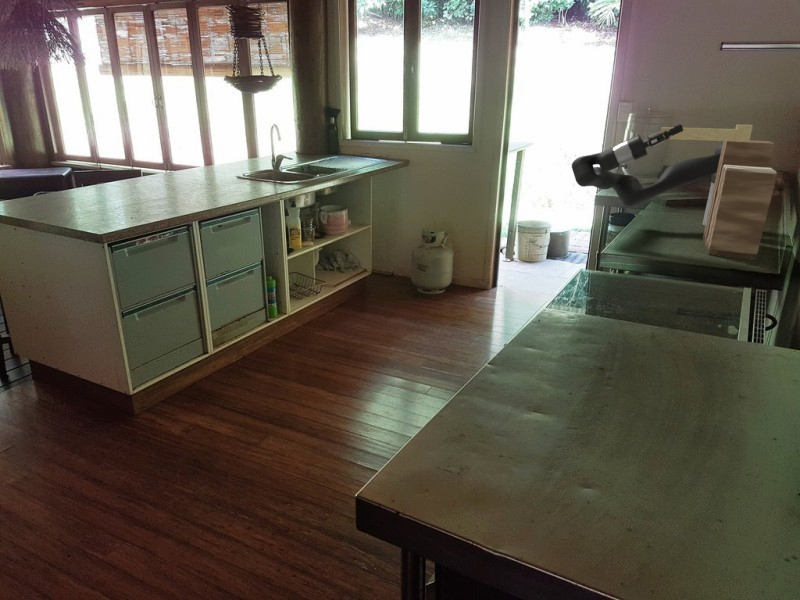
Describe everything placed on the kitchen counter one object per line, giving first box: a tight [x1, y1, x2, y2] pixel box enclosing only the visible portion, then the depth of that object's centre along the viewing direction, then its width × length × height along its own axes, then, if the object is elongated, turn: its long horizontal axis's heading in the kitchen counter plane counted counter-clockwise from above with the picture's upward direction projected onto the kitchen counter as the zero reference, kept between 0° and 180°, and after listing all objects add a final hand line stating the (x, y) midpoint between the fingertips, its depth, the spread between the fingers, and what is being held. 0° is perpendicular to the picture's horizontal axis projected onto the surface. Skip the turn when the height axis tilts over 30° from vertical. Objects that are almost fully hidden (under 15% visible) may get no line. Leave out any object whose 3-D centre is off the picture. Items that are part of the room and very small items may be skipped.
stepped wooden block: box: [702, 139, 778, 261], centre depth 195 cm, size 26×14×36 cm, turn 157°
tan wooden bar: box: [660, 124, 754, 142], centre depth 187 cm, size 5×26×5 cm, turn 67°
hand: (681, 127), depth 189 cm, fingers closed on tan wooden bar, 3 cm apart
